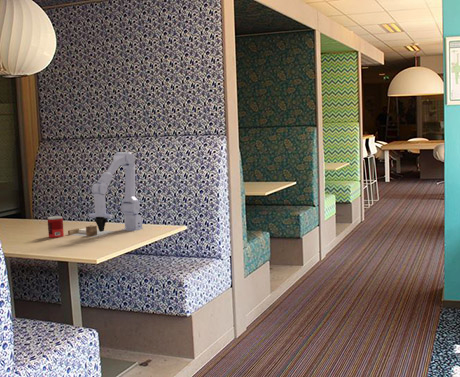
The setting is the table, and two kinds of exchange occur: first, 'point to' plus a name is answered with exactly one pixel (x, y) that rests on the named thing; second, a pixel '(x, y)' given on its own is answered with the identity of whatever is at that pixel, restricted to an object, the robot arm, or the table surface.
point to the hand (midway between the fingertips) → (101, 231)
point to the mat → (95, 235)
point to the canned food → (55, 227)
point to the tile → (82, 231)
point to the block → (91, 230)
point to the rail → (73, 231)
